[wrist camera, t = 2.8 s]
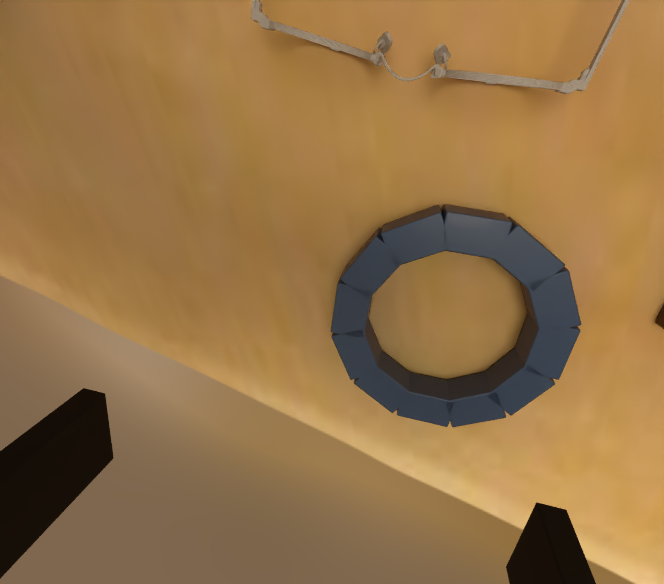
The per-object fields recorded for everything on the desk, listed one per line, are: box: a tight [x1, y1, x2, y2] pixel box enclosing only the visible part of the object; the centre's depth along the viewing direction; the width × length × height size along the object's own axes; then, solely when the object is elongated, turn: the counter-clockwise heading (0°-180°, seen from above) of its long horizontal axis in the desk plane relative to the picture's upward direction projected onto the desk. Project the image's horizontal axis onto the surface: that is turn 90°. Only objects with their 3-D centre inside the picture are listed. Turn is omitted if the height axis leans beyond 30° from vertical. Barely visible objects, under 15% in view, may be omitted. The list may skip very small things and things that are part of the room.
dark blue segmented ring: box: [331, 204, 581, 427], centre depth 23 cm, size 13×13×2 cm
